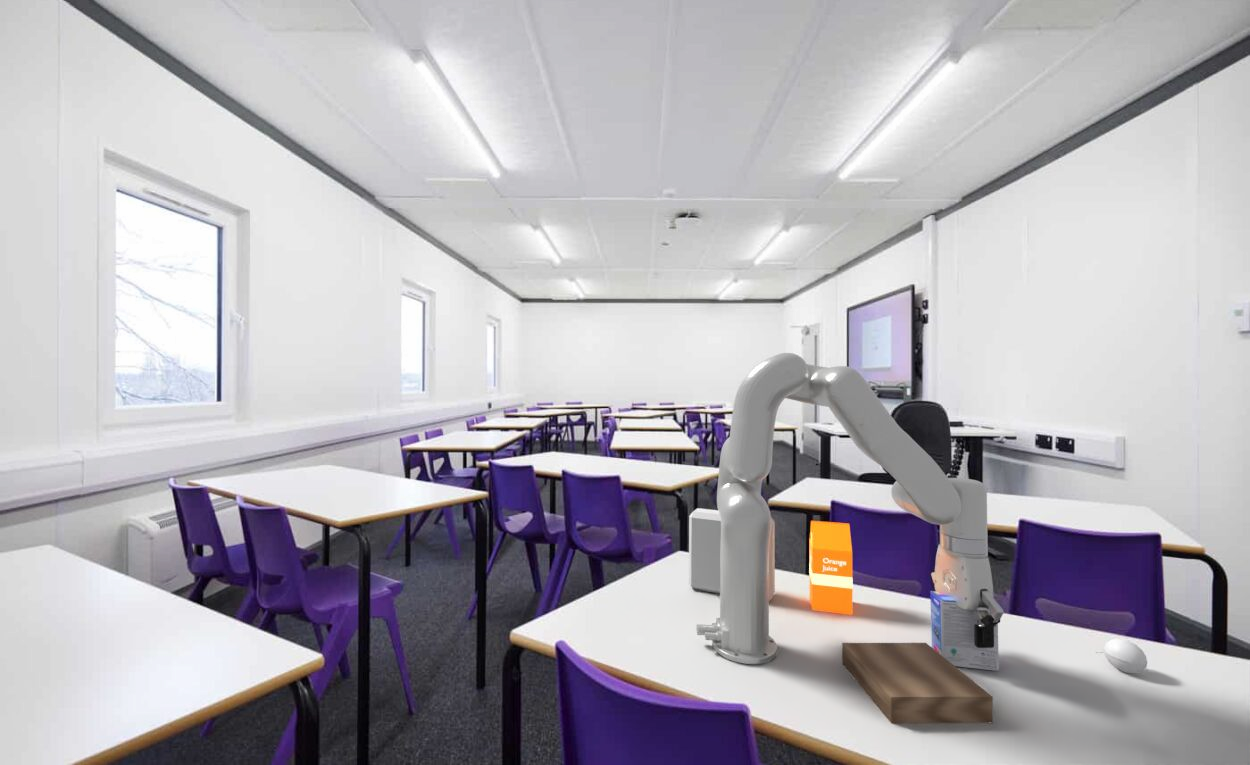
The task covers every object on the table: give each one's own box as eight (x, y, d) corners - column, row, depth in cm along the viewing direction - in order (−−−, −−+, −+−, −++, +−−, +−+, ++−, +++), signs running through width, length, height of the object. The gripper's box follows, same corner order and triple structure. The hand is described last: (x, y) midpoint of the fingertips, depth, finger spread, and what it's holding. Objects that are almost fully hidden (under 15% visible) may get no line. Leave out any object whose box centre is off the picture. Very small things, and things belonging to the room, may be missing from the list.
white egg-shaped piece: (1134, 665, 90) (1133, 635, 91) (1155, 682, 85) (1155, 650, 85) (1083, 657, 93) (1083, 628, 93) (1101, 674, 88) (1101, 643, 88)
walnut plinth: (891, 723, 74) (891, 697, 74) (842, 664, 90) (842, 642, 90) (992, 722, 74) (992, 696, 74) (925, 664, 90) (925, 642, 90)
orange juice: (852, 615, 110) (852, 528, 111) (812, 609, 113) (812, 524, 113) (847, 600, 118) (847, 519, 118) (809, 596, 120) (808, 516, 121)
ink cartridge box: (985, 656, 93) (984, 581, 93) (1001, 672, 88) (1000, 593, 88) (929, 650, 95) (928, 577, 95) (941, 666, 90) (941, 588, 90)
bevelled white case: (775, 592, 122) (775, 514, 123) (771, 605, 115) (771, 522, 115) (695, 579, 131) (696, 505, 131) (687, 590, 123) (687, 512, 124)
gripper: (915, 530, 100) (916, 612, 100) (978, 559, 83) (979, 658, 83) (950, 530, 101) (952, 612, 100) (1020, 559, 83) (1022, 658, 83)
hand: (964, 633), depth 92 cm, fingers open, 9 cm apart
